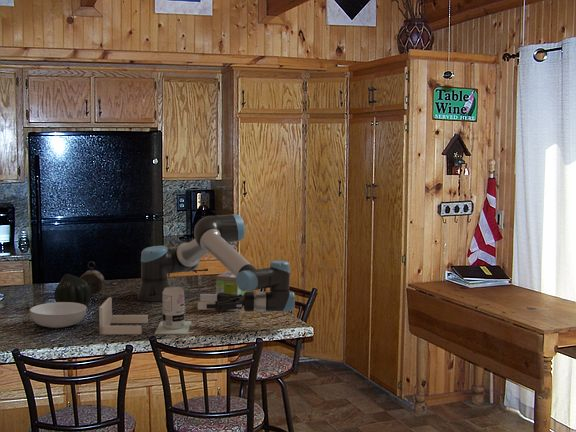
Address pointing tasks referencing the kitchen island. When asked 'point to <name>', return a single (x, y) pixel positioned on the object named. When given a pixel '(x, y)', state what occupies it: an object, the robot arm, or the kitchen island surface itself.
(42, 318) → the serving bowl
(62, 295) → the squash
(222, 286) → the tea box
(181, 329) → the sage mat
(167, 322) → the supplement can
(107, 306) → the open box
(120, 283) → the kitchen island surface
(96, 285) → the alarm clock
